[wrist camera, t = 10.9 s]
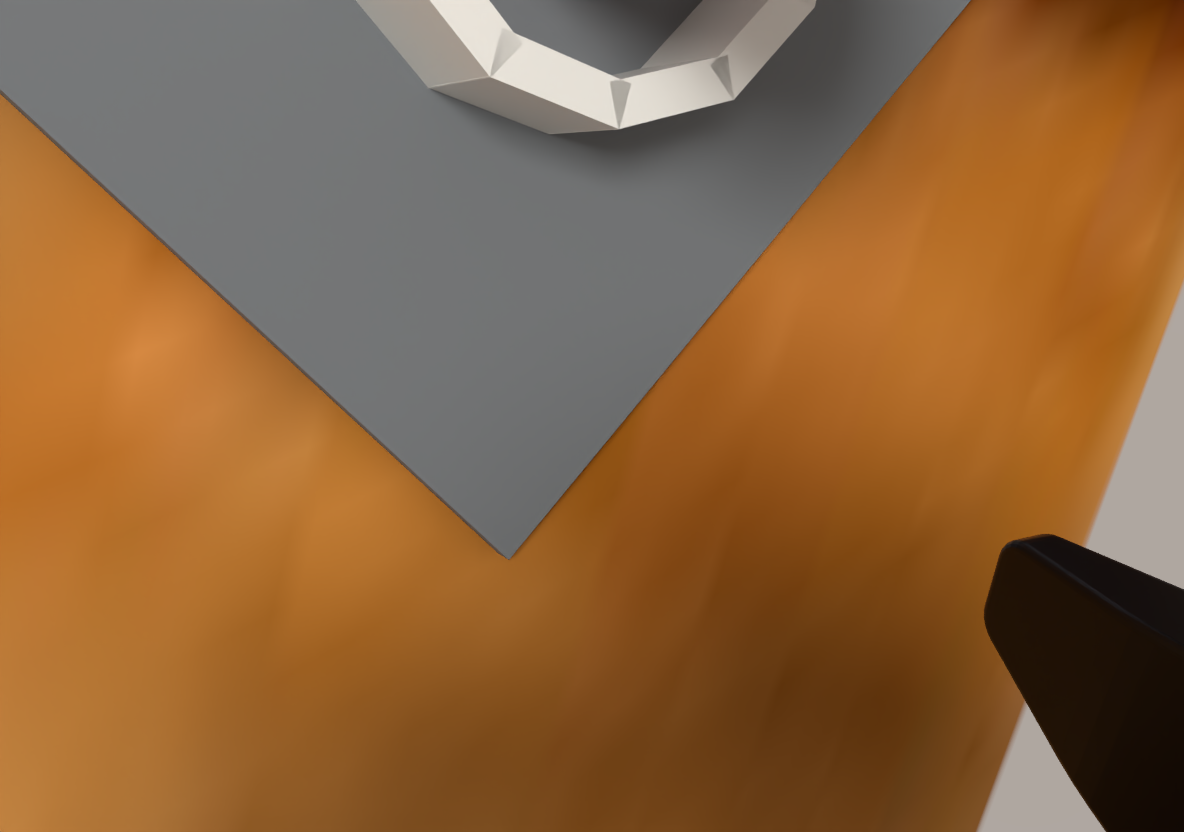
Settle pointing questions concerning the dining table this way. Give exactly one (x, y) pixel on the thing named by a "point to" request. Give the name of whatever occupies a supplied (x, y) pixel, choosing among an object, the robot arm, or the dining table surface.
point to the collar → (571, 88)
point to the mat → (451, 205)
